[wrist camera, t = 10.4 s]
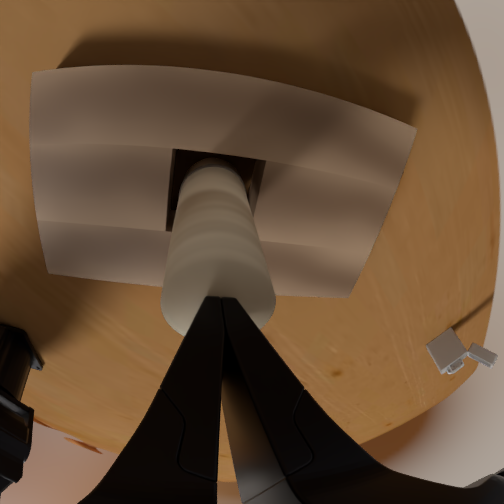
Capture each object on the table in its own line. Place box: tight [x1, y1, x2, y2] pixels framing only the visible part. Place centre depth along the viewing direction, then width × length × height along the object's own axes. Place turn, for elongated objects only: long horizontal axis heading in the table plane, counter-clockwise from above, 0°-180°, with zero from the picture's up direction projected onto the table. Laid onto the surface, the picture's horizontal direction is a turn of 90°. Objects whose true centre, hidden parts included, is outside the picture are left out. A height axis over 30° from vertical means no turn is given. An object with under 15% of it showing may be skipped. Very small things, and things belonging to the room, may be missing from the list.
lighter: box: [426, 327, 497, 374], centre depth 27 cm, size 7×2×8 cm, turn 128°
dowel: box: [161, 158, 276, 336], centre depth 12 cm, size 3×3×10 cm
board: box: [29, 65, 417, 298], centre depth 15 cm, size 12×20×2 cm, turn 79°
